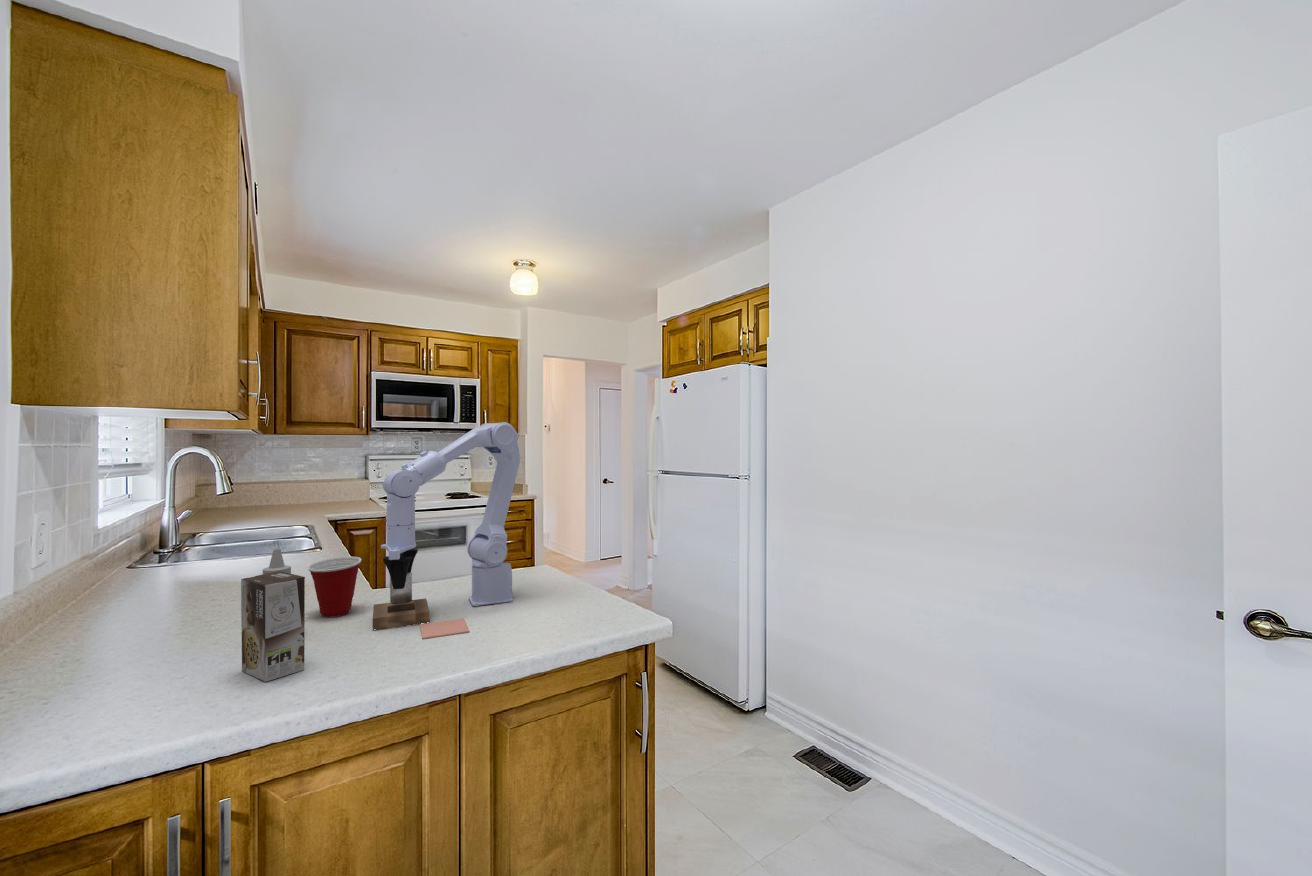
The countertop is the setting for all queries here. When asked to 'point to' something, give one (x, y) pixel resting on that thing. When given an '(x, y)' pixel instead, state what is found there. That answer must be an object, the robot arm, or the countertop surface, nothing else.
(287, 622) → the coffee box
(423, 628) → the rubber mat
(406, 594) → the metal plug
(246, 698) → the countertop surface
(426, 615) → the socket block
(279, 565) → the squeeze bottle
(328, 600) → the plastic cup
